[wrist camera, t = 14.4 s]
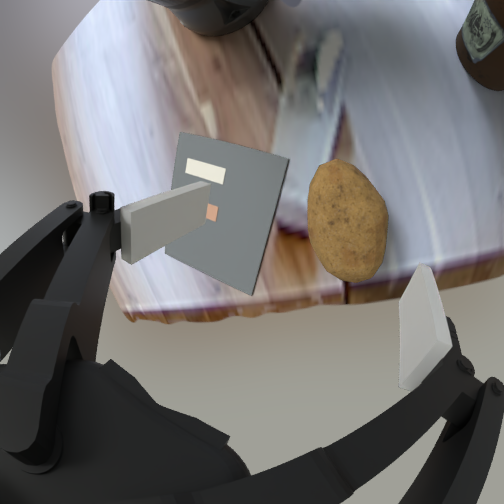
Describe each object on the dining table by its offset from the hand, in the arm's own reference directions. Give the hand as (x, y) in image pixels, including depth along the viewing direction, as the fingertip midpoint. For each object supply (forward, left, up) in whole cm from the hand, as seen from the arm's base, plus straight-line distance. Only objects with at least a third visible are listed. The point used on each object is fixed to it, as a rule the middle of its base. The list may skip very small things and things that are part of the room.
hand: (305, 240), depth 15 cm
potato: (+3, +2, -21) cm, 21 cm away
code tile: (+10, -17, -21) cm, 29 cm away
